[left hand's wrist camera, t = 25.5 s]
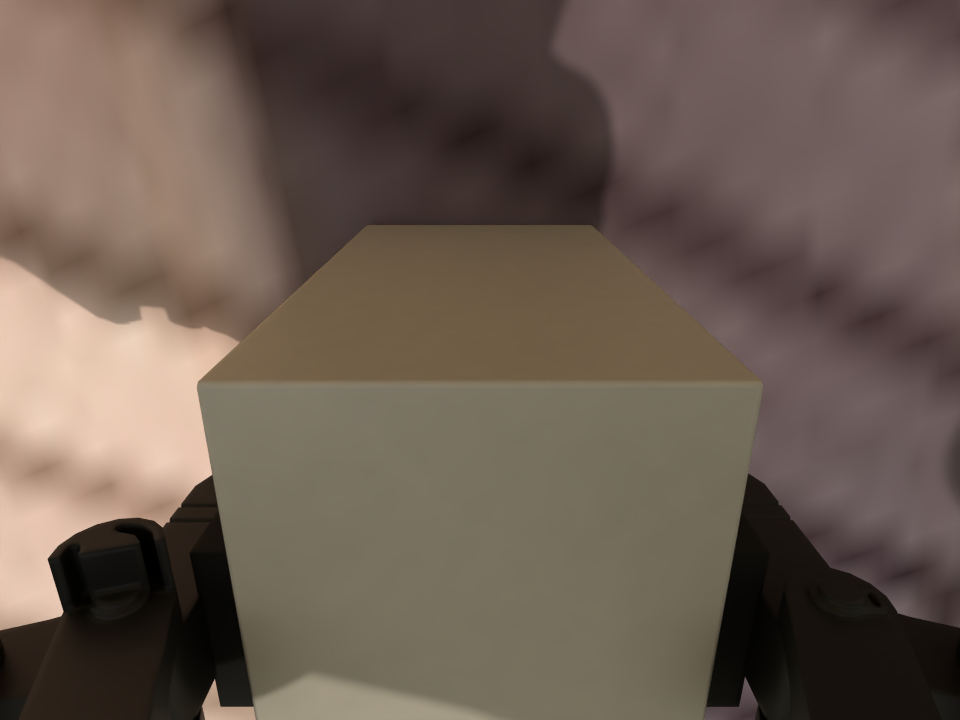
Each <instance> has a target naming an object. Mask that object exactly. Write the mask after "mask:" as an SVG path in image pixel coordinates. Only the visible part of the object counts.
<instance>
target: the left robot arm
mask: <svg viewBox="0 0 960 720" xmlns="http://www.w3.org/2000/svg"><path fill="white" fill-rule="evenodd" d="M48 562H49V565H50V568H51V572H52V575H53V578H54V581H55V585H56V588H57V591H58V595H59V598H60V601H61V604H62V608H63V611H64V612H63V614H62V616H61V617H57V618H54V619H50V620H46V621H41V622H37V623H32V624H28V625H23V626H19V627H14V628H10V629H5V630H1V631H0V720H205V717H204V712H203V708H202V704H203V702H204V700H205V698H206V696H207V694H208V692H209V690H210V688H211V686H212V683H213V681H214V679H215V681H216V686H217V691H218V696H219V701H220V706H221V707H254V705H253V700H252V694H251V689H250V683H249V677H248V672H247V666H246V660H245V655H244V649H243V644H242V638H241V632H240V627H239V621H238V615H237V610H236V604H235V599H234V593H233V587H232V582H231V576H230V570H229V565H228V559H227V554H226V548H225V542H224V537H223V531H222V526H221V520H220V514H219V509H218V503H217V497H216V492H215V486H214V481H213V475H211V476H210V477H208V478H207V479H205V480H204V481H202V482H201V483H199V484H198V485H196V486H195V487H194V488H193V490H192V491H191V492H190V494H189V495H188V496H187V497H186V499H185V500H184V501H183V503H182V504H181V508H178V509H177V510H176V512H175V513H174V514H173V515H172V517H171V518H170V522H169V523H166V524H165V526H164V527H163V528H162V527H161V526H160V525H159V524H157V523H156V522H155V521H152V520H147V519H142V518H127V519H117V520H113V521H109V522H105V523H101V524H97V525H95V526H92V527H90V528H88V529H86V530H83V531H81V532H79V533H76V534H75V535H73V536H72V537H70V538H69V539H68V540H66V541H65V542H63V543H62V544H60V545H59V546H58V547H57V548H56V549H55V551H54V552H53V553H52V554H51V555H50V557H49V558H48ZM745 677H746V679H747V681H748V683H749V686H750V688H751V690H752V692H753V694H754V696H755V698H756V700H757V702H758V708H757V712H756V717H755V720H960V628H958V627H953V626H949V625H944V624H940V623H935V622H931V621H926V620H921V619H917V618H912V617H908V616H905V615H901V614H898V613H897V611H896V609H895V608H894V606H893V605H892V604H891V602H890V601H889V599H888V598H887V596H885V595H884V594H883V593H881V592H880V591H879V590H878V589H876V588H875V587H874V586H873V585H871V584H870V583H868V582H866V581H864V580H862V579H860V578H858V577H856V576H854V575H852V574H850V573H847V572H843V571H840V570H836V569H833V568H830V567H829V566H828V564H827V563H826V562H825V560H824V559H823V558H822V557H821V555H820V554H819V553H818V552H817V550H816V549H815V548H814V546H813V545H812V544H811V543H810V541H809V540H808V539H807V538H806V536H805V535H804V534H803V532H802V531H801V530H800V529H799V527H798V526H797V525H796V524H795V522H794V521H793V520H790V516H789V515H788V513H787V512H786V511H785V510H784V508H783V507H782V506H781V505H779V504H778V501H777V499H776V498H775V497H774V496H773V494H772V493H771V492H770V490H769V489H768V488H767V487H766V485H765V484H764V483H762V482H760V481H759V480H757V479H756V478H754V477H753V476H751V475H750V474H748V476H747V482H746V488H745V493H744V499H743V504H742V510H741V515H740V521H739V527H738V532H737V538H736V543H735V549H734V554H733V560H732V566H731V571H730V577H729V582H728V588H727V593H726V599H725V605H724V610H723V616H722V621H721V627H720V633H719V638H718V644H717V649H716V655H715V660H714V666H713V672H712V677H711V683H710V688H709V694H708V699H707V705H706V707H739V703H740V698H741V694H742V689H743V684H744V679H745Z"/></svg>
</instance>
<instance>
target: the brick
mask: <svg viewBox="0 0 960 720" xmlns="http://www.w3.org/2000/svg"><path fill="white" fill-rule="evenodd" d="M197 391H198V396H199V402H200V407H201V413H202V419H203V424H204V430H205V436H206V441H207V447H208V452H209V458H210V464H211V469H212V475H213V481H214V486H215V492H216V497H217V503H218V509H219V514H220V520H221V526H222V531H223V537H224V542H225V548H226V554H227V559H228V565H229V570H230V576H231V582H232V587H233V593H234V599H235V604H236V610H237V615H238V621H239V627H240V632H241V638H242V644H243V649H244V655H245V660H246V666H247V672H248V677H249V683H250V689H251V694H252V700H253V705H254V711H255V717H256V720H704V716H705V711H706V705H707V699H708V694H709V688H710V683H711V677H712V672H713V666H714V660H715V655H716V649H717V644H718V638H719V633H720V627H721V621H722V616H723V610H724V605H725V599H726V593H727V588H728V582H729V577H730V571H731V566H732V560H733V554H734V549H735V543H736V538H737V532H738V527H739V521H740V515H741V510H742V504H743V499H744V493H745V488H746V482H747V476H748V471H749V465H750V460H751V454H752V448H753V443H754V437H755V432H756V426H757V421H758V415H759V409H760V404H761V398H762V393H763V383H762V381H761V380H760V379H759V378H758V377H757V376H756V375H755V374H753V373H752V372H751V371H750V370H749V369H748V368H747V367H746V366H745V365H744V364H743V363H741V362H740V361H739V360H738V359H737V358H736V357H735V356H734V355H733V354H732V353H731V352H729V351H728V350H727V349H726V348H725V347H724V346H723V345H722V344H721V343H720V342H719V341H717V340H716V339H715V338H714V337H713V336H712V335H711V334H710V333H709V332H708V331H707V330H705V329H704V328H703V327H702V326H701V325H700V324H699V323H698V322H697V321H696V320H695V319H693V318H692V317H691V316H690V315H689V314H688V313H687V312H686V311H685V310H684V309H683V308H681V307H680V306H679V305H678V304H677V303H676V302H675V301H674V300H673V299H672V298H671V297H669V296H668V295H667V294H666V293H665V292H664V291H663V290H662V289H661V288H660V287H659V286H657V285H656V284H655V283H654V282H653V281H652V280H651V279H650V278H649V277H648V276H647V275H645V274H644V273H643V272H642V271H641V270H640V269H639V268H638V267H637V266H636V265H635V264H633V263H632V262H631V261H630V260H629V259H628V258H627V257H626V256H625V255H624V254H623V253H621V252H620V251H619V250H618V249H617V248H616V247H615V246H614V245H613V244H612V243H611V242H610V241H608V240H607V239H606V238H605V237H604V236H603V235H602V234H601V233H600V232H599V231H598V230H596V229H595V228H594V227H593V226H592V225H367V226H366V227H365V228H363V229H362V230H361V231H360V232H359V233H358V234H357V235H356V236H355V237H354V238H353V239H352V240H351V241H349V242H348V243H347V244H346V245H345V246H344V247H343V248H342V249H341V250H340V251H339V252H338V253H336V254H335V255H334V256H333V257H332V258H331V259H330V260H329V261H328V262H327V263H326V264H325V265H324V266H322V267H321V268H320V269H319V270H318V271H317V272H316V273H315V274H314V275H313V276H312V277H311V278H310V279H308V280H307V281H306V282H305V283H304V284H303V285H302V286H301V287H300V288H299V289H298V290H297V291H295V292H294V293H293V294H292V295H291V296H290V297H289V298H288V299H287V300H286V301H285V302H284V303H283V304H281V305H280V306H279V307H278V308H277V309H276V310H275V311H274V312H273V313H272V314H271V315H270V316H269V317H267V318H266V319H265V320H264V321H263V322H262V323H261V324H260V325H259V326H258V327H257V328H256V329H254V330H253V331H252V332H251V333H250V334H249V335H248V336H247V337H246V338H245V339H244V340H243V341H242V342H240V343H239V344H238V345H237V346H236V347H235V348H234V349H233V350H232V351H231V352H230V353H229V354H228V355H226V356H225V357H224V358H223V359H222V360H221V361H220V362H219V363H218V364H217V365H216V366H215V367H213V368H212V369H211V370H210V371H209V372H208V373H207V374H206V375H205V376H204V377H203V378H202V379H201V380H199V381H198V385H197Z"/></svg>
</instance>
